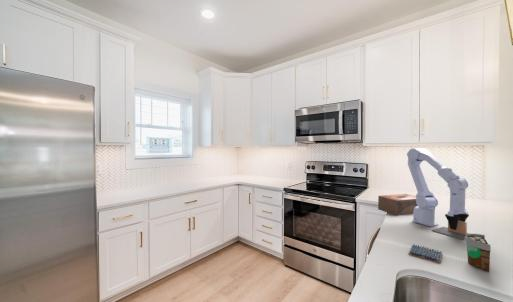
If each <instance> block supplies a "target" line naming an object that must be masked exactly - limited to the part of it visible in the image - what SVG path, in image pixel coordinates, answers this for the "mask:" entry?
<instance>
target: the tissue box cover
mask: <svg viewBox="0 0 513 302" xmlns="http://www.w3.org/2000/svg"><path fill="white" fill-rule="evenodd" d="M377 201H378V202H377V204H378V205H377V207H378V208H377V210H379V211H382V212H385V213H387V214H391V215H394V216H404V215H413V212H414V208H415V207H416V206H418V205H417V203H416V195H412V194H407V193H400V194H399V193H397V194H384V195H378V199H377ZM418 207H419V206H418Z"/></svg>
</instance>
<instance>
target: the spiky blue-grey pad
mask: <svg viewBox="0 0 513 302" xmlns="http://www.w3.org/2000/svg"><path fill="white" fill-rule="evenodd" d="M408 255H410V256H412V257H416V258H421V259H423V260H427V261H430V262H432V263H433V262H434V263H438V264H442V260H443V252H442V251H441V250H436V249H434V248H432V249H431V248H430V247H426V246H422V245H420V244H419V245H417V244H415V243H413V244H412V245H411V248H410V250H409V251H408Z"/></svg>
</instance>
